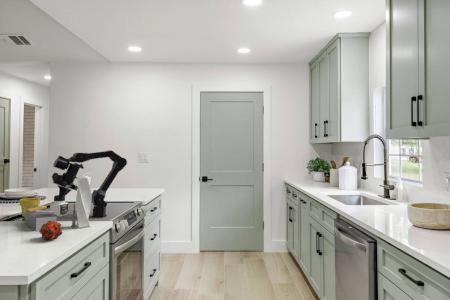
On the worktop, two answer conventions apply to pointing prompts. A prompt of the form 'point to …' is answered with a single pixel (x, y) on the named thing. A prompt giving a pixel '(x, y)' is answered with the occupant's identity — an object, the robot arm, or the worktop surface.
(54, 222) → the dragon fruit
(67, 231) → the worktop surface
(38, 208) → the rocker outlet
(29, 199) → the plant pot
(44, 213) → the rocker outlet
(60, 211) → the medicine bottle
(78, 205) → the skyscraper
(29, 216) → the grey switch box
